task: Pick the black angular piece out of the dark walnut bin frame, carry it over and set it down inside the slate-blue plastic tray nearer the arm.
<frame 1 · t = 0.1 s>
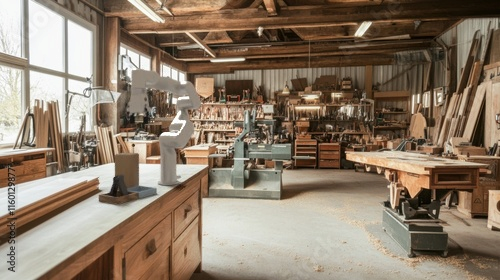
hand: (138, 123, 172), 37 cm above the table, tool pointing down, fingers open, 9 cm apart
block: (127, 189, 178), on the table
slate tray: (139, 194, 165), on the table
black angular piece: (118, 200, 153), resting in walnut bin
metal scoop: (112, 195, 163), on the table
walnut bin: (118, 199, 153), on the table
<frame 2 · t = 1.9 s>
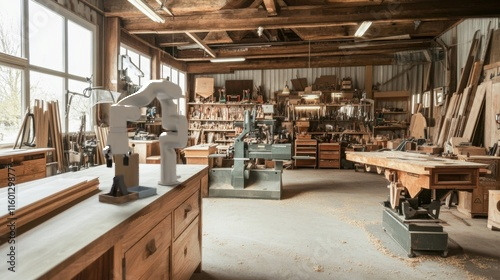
hand: (117, 166, 152), 16 cm above the table, tool pointing down, fingers open, 9 cm apart
nothing on the table moved.
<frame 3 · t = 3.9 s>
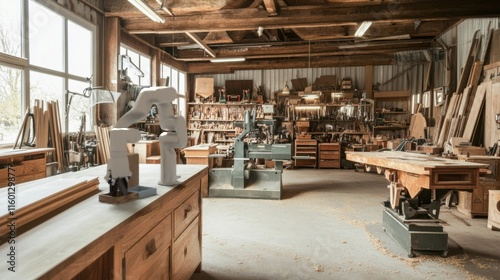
hand: (118, 191, 153), 4 cm above the table, tool pointing down, fingers closed on black angular piece, 6 cm apart
black angular piece: (118, 200, 153), resting in walnut bin, touching gripper
everything else where it was.
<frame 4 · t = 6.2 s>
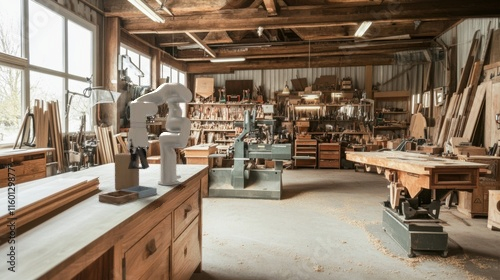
hand: (138, 160, 164), 18 cm above the table, tool pointing down, fingers closed on black angular piece, 6 cm apart
black angular piece: (138, 168, 164), point 14 cm above the table, touching gripper
everything else where it was.
when the fingers open (7 cm above the table, at t = 9.0 s): black angular piece drops 2 cm, resting on slate tray.
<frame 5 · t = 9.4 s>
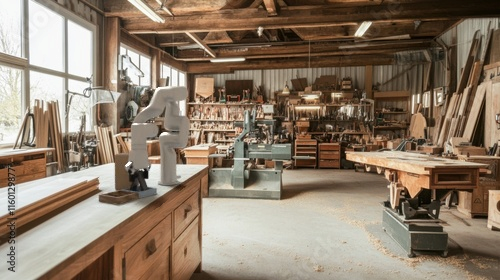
hand: (139, 180, 164), 8 cm above the table, tool pointing down, fingers open, 9 cm apart
black angular piece: (138, 193, 164), resting on slate tray
everything else where it was.
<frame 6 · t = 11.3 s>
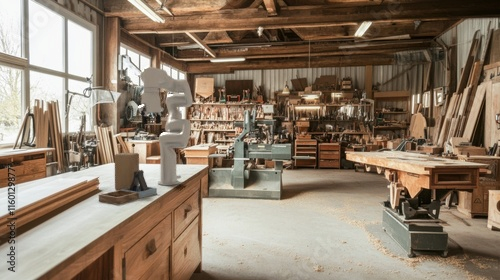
hand: (151, 123, 168), 37 cm above the table, tool pointing down, fingers open, 9 cm apart
nothing on the table moved.
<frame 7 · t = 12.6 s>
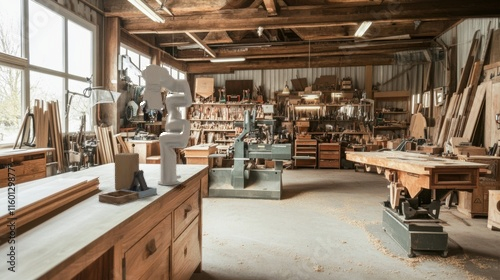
hand: (152, 121, 168), 38 cm above the table, tool pointing down, fingers open, 9 cm apart
nothing on the table moved.
at the end: black angular piece inside the target area on the slate tray (0.3 cm from its centre), point 0.4 cm above the slate tray's base; the gripper is holding nothing; black angular piece touching slate tray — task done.
